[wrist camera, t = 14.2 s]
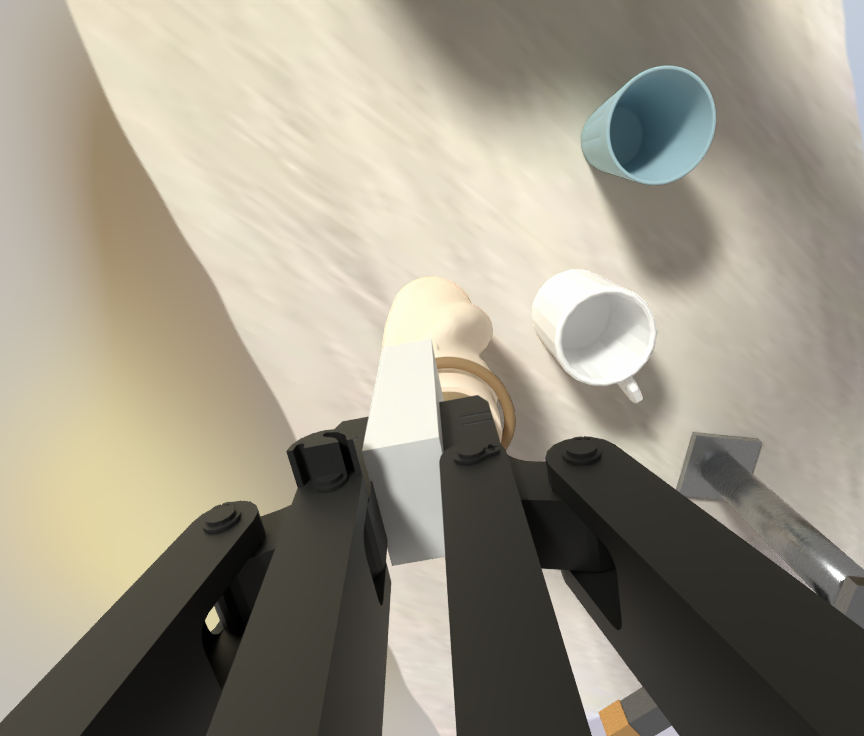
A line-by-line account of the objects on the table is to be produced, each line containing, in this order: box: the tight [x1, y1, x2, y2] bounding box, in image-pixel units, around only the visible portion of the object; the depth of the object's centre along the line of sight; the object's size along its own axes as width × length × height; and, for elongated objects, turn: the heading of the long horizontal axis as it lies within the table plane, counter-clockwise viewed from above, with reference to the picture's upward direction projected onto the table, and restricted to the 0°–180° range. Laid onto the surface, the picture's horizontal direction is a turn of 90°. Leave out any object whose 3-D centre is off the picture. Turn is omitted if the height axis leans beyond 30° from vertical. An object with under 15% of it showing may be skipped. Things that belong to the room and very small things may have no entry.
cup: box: [581, 66, 716, 185], centre depth 44 cm, size 8×8×10 cm
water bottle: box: [381, 277, 516, 450], centre depth 41 cm, size 10×9×28 cm
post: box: [676, 432, 864, 629], centre depth 49 cm, size 7×7×22 cm
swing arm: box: [599, 687, 672, 736], centre depth 43 cm, size 19×3×2 cm, turn 130°
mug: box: [531, 269, 657, 404], centre depth 50 cm, size 8×12×10 cm
